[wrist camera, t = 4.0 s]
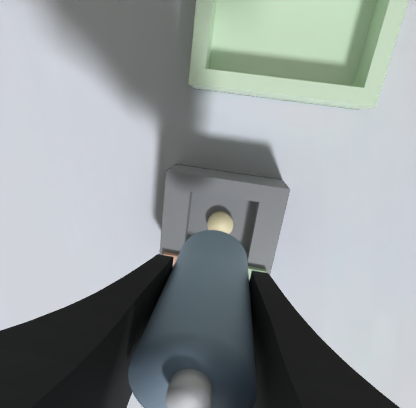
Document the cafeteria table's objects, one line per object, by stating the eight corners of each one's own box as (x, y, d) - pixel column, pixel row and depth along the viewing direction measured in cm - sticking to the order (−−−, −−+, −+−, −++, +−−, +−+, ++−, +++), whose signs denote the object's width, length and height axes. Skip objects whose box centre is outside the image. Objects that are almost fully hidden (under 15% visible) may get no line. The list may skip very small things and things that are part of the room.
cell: (255, 238, 11) (275, 368, 5) (238, 297, 12) (240, 464, 6) (185, 223, 11) (127, 332, 5) (174, 282, 12) (115, 431, 6)
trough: (398, -31, 13) (426, -59, 11) (357, 109, 15) (375, 106, 13) (208, -49, 13) (203, -77, 11) (194, 88, 15) (188, 83, 13)
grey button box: (282, 180, 16) (291, 190, 14) (264, 261, 18) (269, 284, 16) (176, 164, 17) (164, 171, 14) (168, 245, 19) (157, 265, 16)
